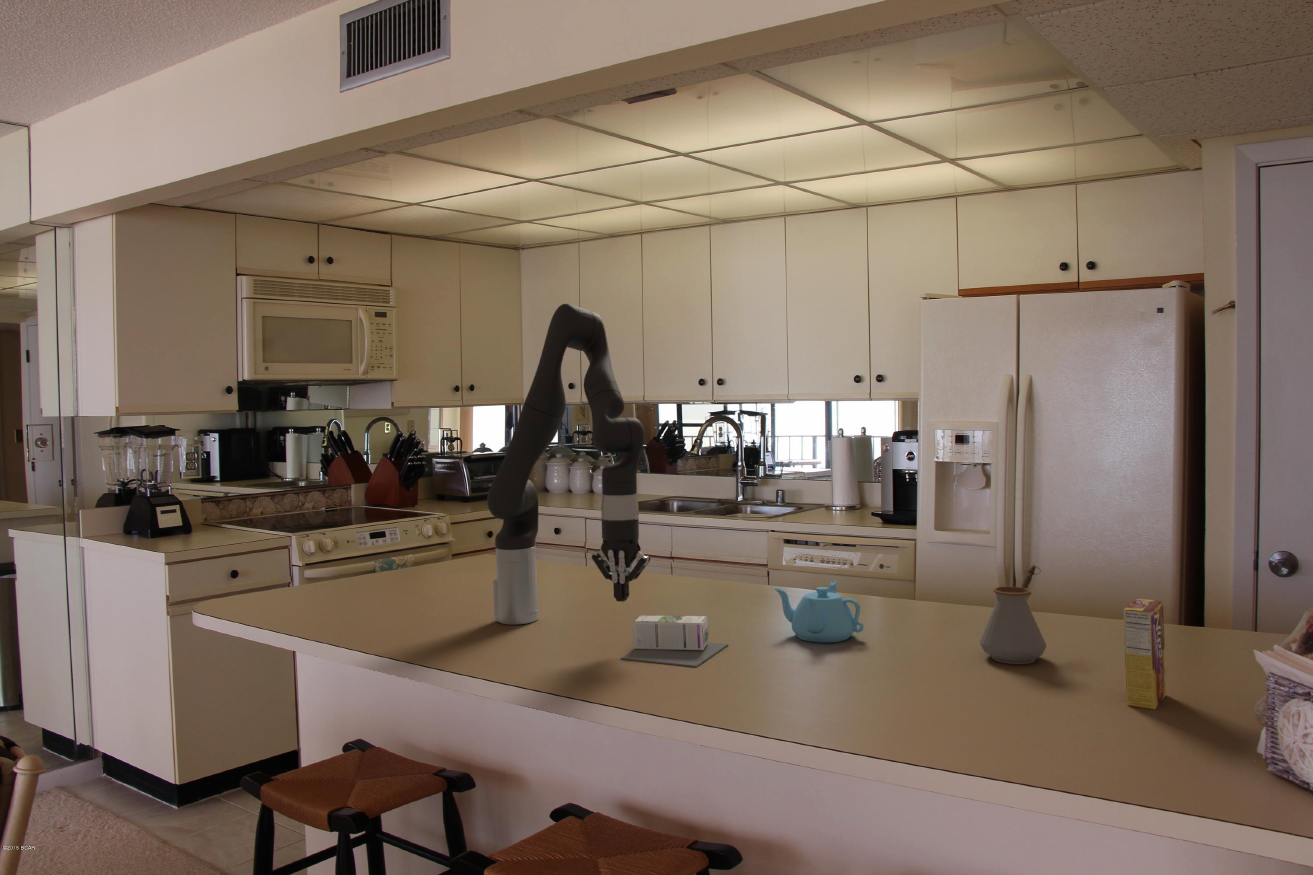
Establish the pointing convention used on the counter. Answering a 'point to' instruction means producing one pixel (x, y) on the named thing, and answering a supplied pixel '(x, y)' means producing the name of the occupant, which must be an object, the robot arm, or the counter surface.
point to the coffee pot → (1013, 627)
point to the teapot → (822, 615)
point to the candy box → (1145, 653)
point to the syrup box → (670, 632)
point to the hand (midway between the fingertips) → (621, 600)
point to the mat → (676, 655)
